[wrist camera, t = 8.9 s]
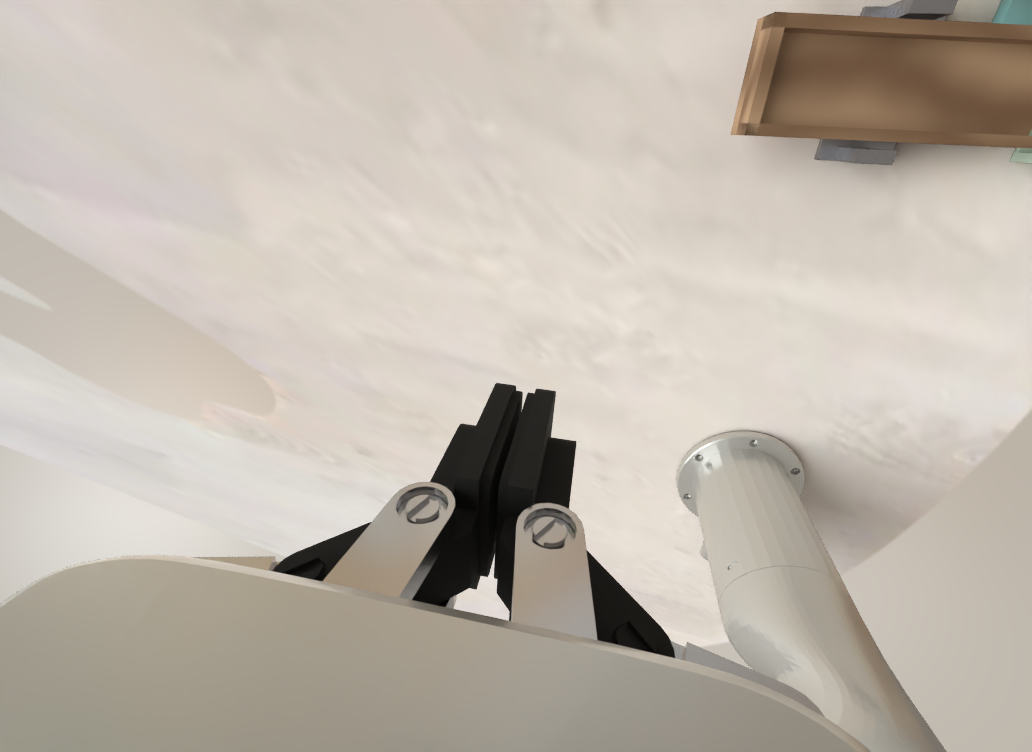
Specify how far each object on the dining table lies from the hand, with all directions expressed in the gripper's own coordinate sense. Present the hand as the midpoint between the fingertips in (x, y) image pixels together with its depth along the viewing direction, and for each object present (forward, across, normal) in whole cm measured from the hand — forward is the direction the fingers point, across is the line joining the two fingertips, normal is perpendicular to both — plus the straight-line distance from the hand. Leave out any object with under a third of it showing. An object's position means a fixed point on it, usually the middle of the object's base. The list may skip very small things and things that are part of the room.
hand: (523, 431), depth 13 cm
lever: (+30, -19, -13) cm, 38 cm away
